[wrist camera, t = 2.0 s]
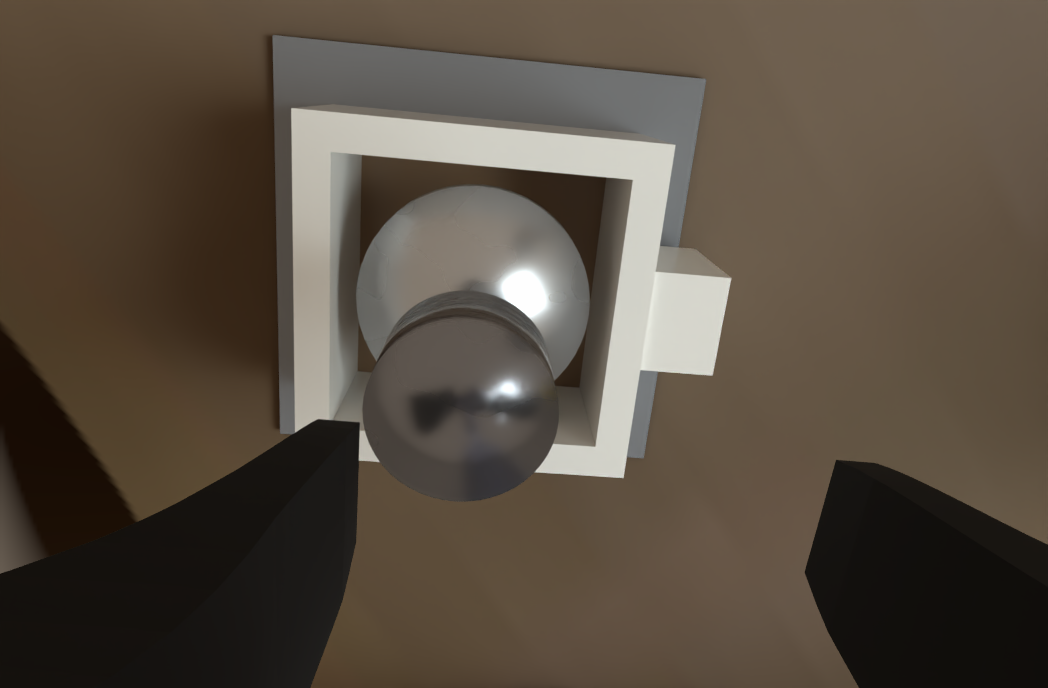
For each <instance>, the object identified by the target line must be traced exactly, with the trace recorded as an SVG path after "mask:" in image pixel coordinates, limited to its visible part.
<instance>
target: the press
mask: <svg viewBox="0 0 1048 688" xmlns="http://www.w3.org/2000/svg"><path fill="white" fill-rule="evenodd" d="M273 83H274V136H275V188H276V241H277V293H278V346H279V398H280V434H294V433H295V432H297V431H298V430H300V429H301V428H303V427H305V426H306V425H308V424H310V423H311V422H313V421H315V420H317V419H325V420H337V421H350V422H360V437H359V460H360V461H375V462H380V461H379V460H378V459H377V457H376V456H375V454H374V452H373V450H372V448H371V446H370V444H369V442H368V439H367V436H366V433H365V429H364V424H363V413H362V407H363V397H364V393H365V389H366V385H367V383H368V380H369V378H370V375H371V373H372V371H373V369H374V366H375V364H376V362H377V361H376V359H375V358H374V356H373V355H372V353H371V352H370V350H369V347H368V345H367V343H366V341H365V339H364V336H363V333H362V330H361V327H360V324H359V319H358V313H357V302H356V292H357V281H358V276H359V272H360V268H361V264H362V262H363V259H364V257H365V254H366V252H367V250H368V248H369V246H370V244H371V243H372V241H373V239H374V238H375V236H376V235H377V234H378V232H379V231H380V230H381V228H382V227H383V226H384V224H385V223H386V222H387V221H388V220H389V219H390V218H391V217H392V216H393V215H394V214H395V213H396V212H397V211H399V210H400V209H401V208H403V207H404V206H405V205H406V204H408V203H409V202H411V201H413V200H415V199H416V198H418V197H420V196H422V195H424V194H426V193H429V192H431V191H434V190H437V189H441V188H445V187H449V186H454V185H463V184H483V185H490V186H496V187H501V188H504V189H507V190H511V191H514V192H516V193H518V194H520V195H523V196H525V197H527V198H529V199H530V200H532V201H534V202H535V203H537V204H539V205H540V206H542V207H543V208H544V209H545V210H546V211H548V212H549V213H550V214H551V215H552V216H553V217H554V218H555V219H556V220H557V221H558V222H559V223H560V224H561V225H562V226H563V228H564V229H565V230H566V232H567V233H568V235H569V236H570V237H571V239H572V241H573V243H574V245H575V246H576V248H577V250H578V252H579V254H580V256H581V259H582V262H583V265H584V267H585V270H586V274H587V279H588V284H589V294H590V307H589V317H588V322H587V327H586V331H585V334H584V336H583V339H582V342H581V344H580V346H579V348H578V350H577V352H576V354H575V356H574V357H573V359H572V360H571V362H570V363H569V365H568V366H567V368H566V369H565V370H564V371H563V372H562V373H561V374H560V375H559V377H558V378H557V379H555V380H554V382H555V387H556V392H557V397H558V405H559V423H558V428H557V433H556V437H555V440H554V443H553V445H552V447H551V449H550V451H549V453H548V455H547V457H546V458H545V460H544V461H543V463H542V464H541V465H540V466H539V468H538V469H537V470H536V471H535V472H542V473H557V474H572V475H587V476H602V477H617V478H623V477H624V471H625V464H626V458H627V457H634V458H644V452H645V446H646V440H647V434H648V428H649V422H650V416H651V410H652V404H653V398H654V392H655V386H656V380H657V374H658V371H659V372H673V373H686V374H699V375H713V370H714V365H715V360H716V355H717V349H718V344H719V339H720V334H721V329H722V323H723V318H724V313H725V308H726V303H727V298H728V292H729V287H730V282H731V277H729V276H728V275H727V274H726V273H724V272H723V271H722V270H721V269H719V268H718V267H717V266H716V265H714V264H713V263H712V262H711V261H710V260H708V259H707V258H706V257H705V256H703V255H702V254H701V253H700V252H698V251H697V250H696V249H690V248H679V241H680V235H681V229H682V223H683V217H684V211H685V205H686V199H687V193H688V187H689V181H690V175H691V169H692V162H693V156H694V150H695V144H696V138H697V132H698V126H699V120H700V114H701V108H702V102H703V96H704V90H705V84H706V79H700V78H690V77H680V76H671V75H661V74H651V73H641V72H631V71H621V70H612V69H602V68H592V67H582V66H572V65H562V64H553V63H543V62H533V61H523V60H513V59H503V58H494V57H484V56H474V55H464V54H454V53H445V52H435V51H425V50H415V49H405V48H395V47H386V46H376V45H366V44H356V43H346V42H336V41H327V40H317V39H307V38H297V37H287V36H278V35H273Z"/></svg>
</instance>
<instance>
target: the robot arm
mask: <svg viewBox="0 0 1048 688" xmlns="http://www.w3.org/2000/svg"><path fill="white" fill-rule="evenodd" d="M359 437H360V422H350V421H337V420H325V419H317V420H315V421H313V422H311V423H310V424H308V425H306V426H305V427H303V428H301V429H300V430H298V431H297V432H295V433H294V434H292V435H291V436H289V437H288V438H286V439H285V440H283V441H281V442H280V443H278V444H277V445H275V446H274V447H272V448H271V449H269V450H267V451H266V452H264V453H263V454H261V455H260V456H258V457H256V458H255V459H253V460H252V461H250V462H248V463H247V464H245V465H244V466H242V467H240V468H239V469H237V470H236V471H234V472H232V473H230V474H229V475H227V476H225V477H223V478H221V479H220V480H218V481H216V482H214V483H212V484H211V485H209V486H207V487H205V488H203V489H202V490H200V491H198V492H196V493H195V494H193V495H191V496H189V497H187V498H186V499H184V500H182V501H180V502H178V503H176V504H174V505H172V506H170V507H168V508H166V509H164V510H162V511H160V512H158V513H156V514H154V515H152V516H150V517H147V518H145V519H143V520H141V521H139V522H136V523H134V524H132V525H129V526H127V527H125V528H123V529H120V530H118V531H116V532H113V533H111V534H109V535H107V536H104V537H101V538H99V539H97V540H94V541H92V542H89V543H86V544H83V545H80V546H78V547H75V548H72V549H69V550H66V551H64V552H61V553H58V554H55V555H52V556H50V557H47V558H44V559H41V560H38V561H36V562H33V563H30V564H27V565H24V566H22V567H19V568H16V569H13V570H11V571H7V572H4V573H1V574H0V688H310V687H311V684H312V681H313V679H314V676H315V673H316V671H317V668H318V665H319V663H320V660H321V657H322V655H323V652H324V649H325V647H326V644H327V641H328V639H329V636H330V633H331V631H332V628H333V625H334V622H335V620H336V617H337V614H338V611H339V609H340V606H341V603H342V600H343V596H344V592H345V588H346V584H347V579H348V575H349V571H350V566H351V562H352V558H353V553H354V549H355V544H356V528H357V498H358V468H359ZM805 574H806V577H807V580H808V583H809V585H810V588H811V591H812V593H813V596H814V599H815V602H816V604H817V607H818V609H819V612H820V614H821V616H822V619H823V621H824V623H825V626H826V628H827V631H828V633H829V634H830V636H831V638H832V640H833V642H834V644H835V646H836V647H837V649H838V651H839V653H840V655H841V656H842V658H843V660H844V662H845V663H846V665H847V667H848V669H849V671H850V672H851V674H852V676H853V678H854V679H855V681H856V683H857V685H858V686H859V688H1048V545H1047V544H1045V543H1043V542H1041V541H1039V540H1037V539H1035V538H1033V537H1031V536H1028V535H1026V534H1024V533H1022V532H1020V531H1018V530H1016V529H1014V528H1012V527H1010V526H1008V525H1006V524H1004V523H1002V522H1000V521H998V520H996V519H994V518H992V517H990V516H988V515H986V514H985V513H983V512H981V511H979V510H977V509H975V508H973V507H971V506H969V505H967V504H965V503H963V502H961V501H959V500H957V499H955V498H953V497H951V496H949V495H947V494H945V493H943V492H941V491H939V490H937V489H935V488H933V487H931V486H929V485H927V484H924V483H922V482H920V481H918V480H916V479H914V478H912V477H909V476H907V475H905V474H903V473H900V472H898V471H895V470H893V469H890V468H888V467H885V466H882V465H879V464H876V463H868V462H855V461H842V460H836V462H835V466H834V470H833V473H832V477H831V480H830V484H829V487H828V491H827V494H826V498H825V502H824V505H823V509H822V512H821V516H820V519H819V523H818V527H817V530H816V534H815V537H814V541H813V544H812V548H811V552H810V555H809V559H808V562H807V566H806V569H805Z"/></svg>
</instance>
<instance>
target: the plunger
mask: <svg viewBox="0 0 1048 688" xmlns="http://www.w3.org/2000/svg"><path fill="white" fill-rule="evenodd" d="M356 302H357V313H358V319H359V324H360V327H361V330H362V333H363V336H364V339H365V341H366V343H367V345H368V347H369V350H370V352H371V353H372V355H373V356H374V358H375V359H376V361H377V362H376V364H375V366H374V369H373V371H372V373H371V375H370V378H369V380H368V383H367V385H366V389H365V393H364V397H363V407H362V413H363V424H364V429H365V433H366V436H367V439H368V442H369V444H370V446H371V448H372V450H373V452H374V454H375V456H376V457H377V459H378V460H379V461H380V463H381V464H382V465H383V466H384V468H385V469H386V470H387V471H388V472H389V473H390V474H391V475H392V476H394V477H395V478H396V479H397V480H398V481H400V482H401V483H403V484H404V485H406V486H407V487H409V488H411V489H413V490H415V491H417V492H419V493H421V494H424V495H427V496H430V497H433V498H437V499H441V500H448V501H476V500H482V499H487V498H491V497H494V496H497V495H500V494H503V493H505V492H507V491H509V490H511V489H513V488H515V487H516V486H518V485H519V484H521V483H522V482H524V481H525V480H526V479H527V478H528V477H530V476H531V475H532V474H533V473H534V472H535V471H536V470H537V469H538V468H539V466H540V465H541V464H542V463H543V461H544V460H545V458H546V457H547V455H548V453H549V451H550V449H551V447H552V445H553V443H554V440H555V437H556V433H557V428H558V423H559V405H558V397H557V392H556V387H555V382H554V380H555V379H557V378H558V377H559V375H560V374H561V373H562V372H563V371H564V370H565V369H566V368H567V366H568V365H569V363H570V362H571V360H572V359H573V357H574V356H575V354H576V352H577V350H578V348H579V346H580V344H581V342H582V339H583V336H584V334H585V331H586V327H587V322H588V317H589V307H590V294H589V284H588V279H587V274H586V270H585V267H584V265H583V262H582V259H581V256H580V254H579V252H578V250H577V248H576V246H575V245H574V243H573V241H572V239H571V237H570V236H569V235H568V233H567V232H566V230H565V229H564V228H563V226H562V225H561V224H560V223H559V222H558V221H557V220H556V219H555V218H554V217H553V216H552V215H551V214H550V213H549V212H548V211H546V210H545V209H544V208H543V207H542V206H540V205H539V204H537V203H535V202H534V201H532V200H530V199H529V198H527V197H525V196H523V195H520V194H518V193H516V192H514V191H511V190H507V189H504V188H501V187H496V186H490V185H483V184H463V185H454V186H449V187H445V188H441V189H437V190H434V191H431V192H429V193H426V194H424V195H422V196H420V197H418V198H416V199H415V200H413V201H411V202H409V203H408V204H406V205H405V206H404V207H403V208H401V209H400V210H399V211H397V212H396V213H395V214H394V215H393V216H392V217H391V218H390V219H389V220H388V221H387V222H386V223H385V224H384V226H383V227H382V228H381V230H380V231H379V232H378V234H377V235H376V236H375V238H374V239H373V241H372V243H371V244H370V246H369V248H368V250H367V252H366V254H365V257H364V259H363V262H362V264H361V268H360V272H359V276H358V281H357V292H356Z"/></svg>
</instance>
